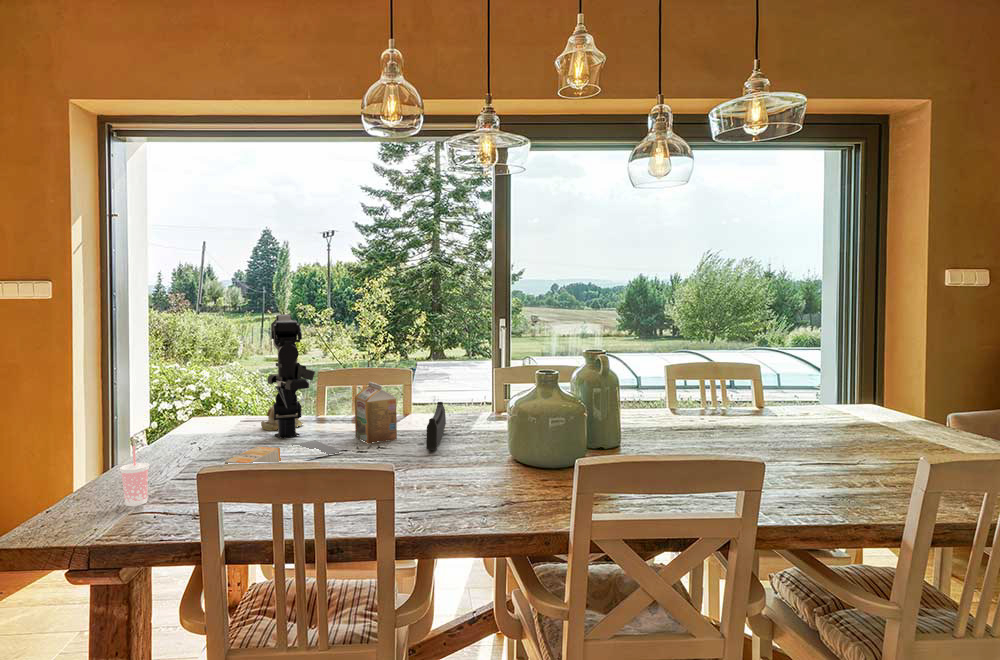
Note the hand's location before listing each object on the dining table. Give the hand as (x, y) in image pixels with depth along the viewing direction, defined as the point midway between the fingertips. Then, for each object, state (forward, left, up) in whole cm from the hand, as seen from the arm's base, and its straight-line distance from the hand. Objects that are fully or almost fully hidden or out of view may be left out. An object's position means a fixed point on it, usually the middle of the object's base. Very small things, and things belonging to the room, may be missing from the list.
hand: (288, 408), depth 195 cm
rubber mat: (+8, -3, -13) cm, 16 cm away
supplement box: (+14, -12, -10) cm, 21 cm away
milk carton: (+8, +27, -13) cm, 31 cm away
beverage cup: (+23, -48, -13) cm, 55 cm away
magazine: (+24, +41, -13) cm, 49 cm away
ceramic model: (-30, +10, -13) cm, 35 cm away
